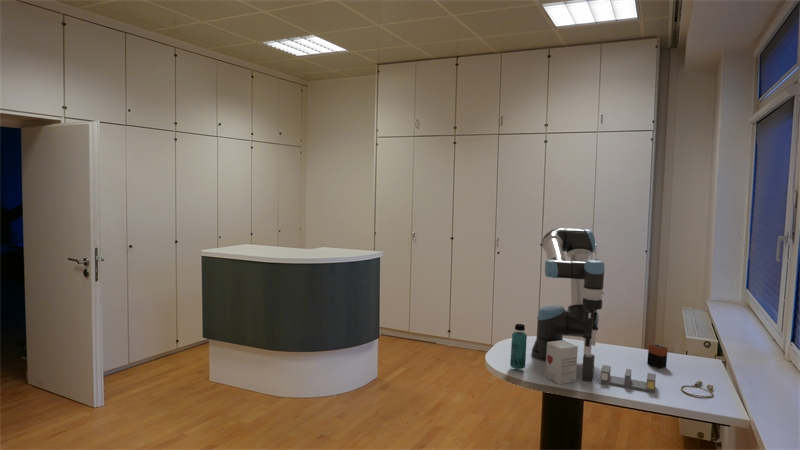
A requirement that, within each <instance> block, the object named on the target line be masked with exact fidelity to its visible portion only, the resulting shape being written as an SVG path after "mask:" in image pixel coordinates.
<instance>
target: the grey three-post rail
mask: <svg viewBox="0 0 800 450" xmlns="http://www.w3.org/2000/svg"><path fill="white" fill-rule="evenodd" d="M611 368H612V366H611V365H607V364H603V365H602V366H601V370H600V381H599V383H600V384H605V385H609V386H616V387H621V388H626V389H631V390H636V391H643V392H647V393H652V394H655V393H656V391H655V390H656V379H657V378H656V376H657V374H656V373H653V372H652V373H651V372H647V376H646V381H642V380H637V379H632V369H628V368H626V369H625V370H626V371H625V373H624V377H621V376H616V375H611V371H612V370H611Z"/></svg>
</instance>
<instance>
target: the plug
mask: <svg viewBox="0 0 800 450" xmlns="http://www.w3.org/2000/svg"><path fill="white" fill-rule="evenodd" d="M582 357H583V358H582V370H581V371H582V372H581V381H583V382H584V381H585V382H588V383H589V382H590V383H593V381H594V374H595V373H594V372H595V358H596V356H595V355H593V353H591V355H589V354H584V353H583V356H582Z"/></svg>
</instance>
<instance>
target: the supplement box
mask: <svg viewBox="0 0 800 450" xmlns="http://www.w3.org/2000/svg"><path fill="white" fill-rule="evenodd" d="M578 351H579V346H578V345H576V344H573V343H571V342H570V341H566V340H564V339H563V340H560V341H551V342H547V354H546V361H545V373H544V376H545V378H548V379H549V380H551V381H552V382H554V383H556V384H558V385H563V384H567V383H574V382H576V380H577V379H576V378H577V367H578V366H577V365H578V364H577V363H578V353H579V352H578Z"/></svg>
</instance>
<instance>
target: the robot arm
mask: <svg viewBox="0 0 800 450" xmlns="http://www.w3.org/2000/svg"><path fill="white" fill-rule="evenodd" d="M541 241H542V242H541V245H542V248H543V250H544V251H545V254H546V257H547V260H545V262H544V276H545V277H547V278H552V279H570V300H571V302H570V305H568V307H567V309H565V307H564V306H562V305H554V304H553V305H551V304H550V305H545V306H542V307H540V308H539V309H538V310H537V317H536V319H537V325H536V339H535V341H534V344H533V346H532V348H531V355H532V357H533V358H536V359H537V360H541V361H545V362H546V354H547V342H551V341H560V340H564V336H566V337H567V336H568V337H579V338H583V340H584V341H583V342H584V343H583V344H584V345H583V355H584V354H589V355H591V354H592V346H596V340H597V339H596V338H597V331H598V330H599V321H600V316H599V312H598V311H599V310H601V309H602V308H603V298H604V297H603V296H604V295H605V291H604V283H605V282H604V280H605V272H606V270H605V262H604V261H602V260H597V259H590V258H591V256H593V253H595V250H596V238H595V234H594V232H593V231H592V230H591V229H587V228H571V227H569V228H568V227H567V228H566V227H557V228H553V229H551V230H550V231H548V232H546V233H545V235H544V236H543V238H542V240H541ZM564 252H566V257H567V258H569V260H566V257H565V253H564Z"/></svg>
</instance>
